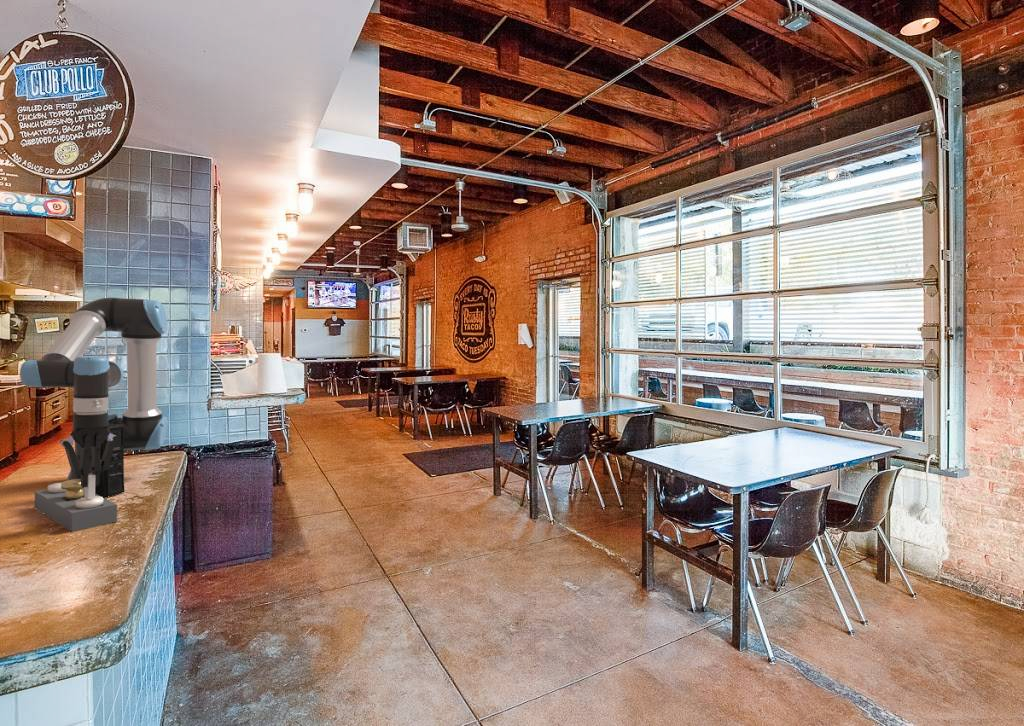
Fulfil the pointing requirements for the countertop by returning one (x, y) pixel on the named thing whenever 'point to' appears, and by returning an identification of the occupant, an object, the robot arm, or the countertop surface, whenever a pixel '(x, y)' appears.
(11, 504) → the countertop surface
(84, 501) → the knob far
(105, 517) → the console
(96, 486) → the portable radio
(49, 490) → the knob near arm
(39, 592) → the countertop surface
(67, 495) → the brass knob
